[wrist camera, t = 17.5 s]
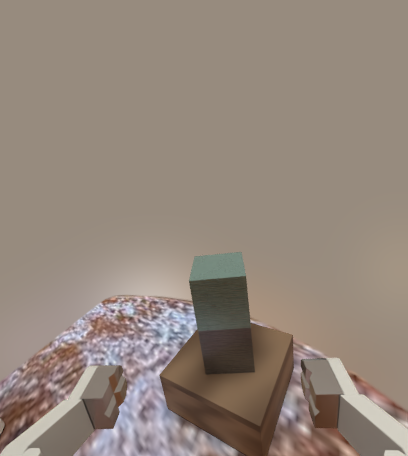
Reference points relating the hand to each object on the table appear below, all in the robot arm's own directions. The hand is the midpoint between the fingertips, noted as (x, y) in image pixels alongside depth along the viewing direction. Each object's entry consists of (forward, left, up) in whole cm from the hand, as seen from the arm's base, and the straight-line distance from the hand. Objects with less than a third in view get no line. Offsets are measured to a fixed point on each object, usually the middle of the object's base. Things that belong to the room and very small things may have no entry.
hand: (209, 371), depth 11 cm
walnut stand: (-6, +12, -17) cm, 22 cm away
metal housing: (-6, +12, -12) cm, 18 cm away
